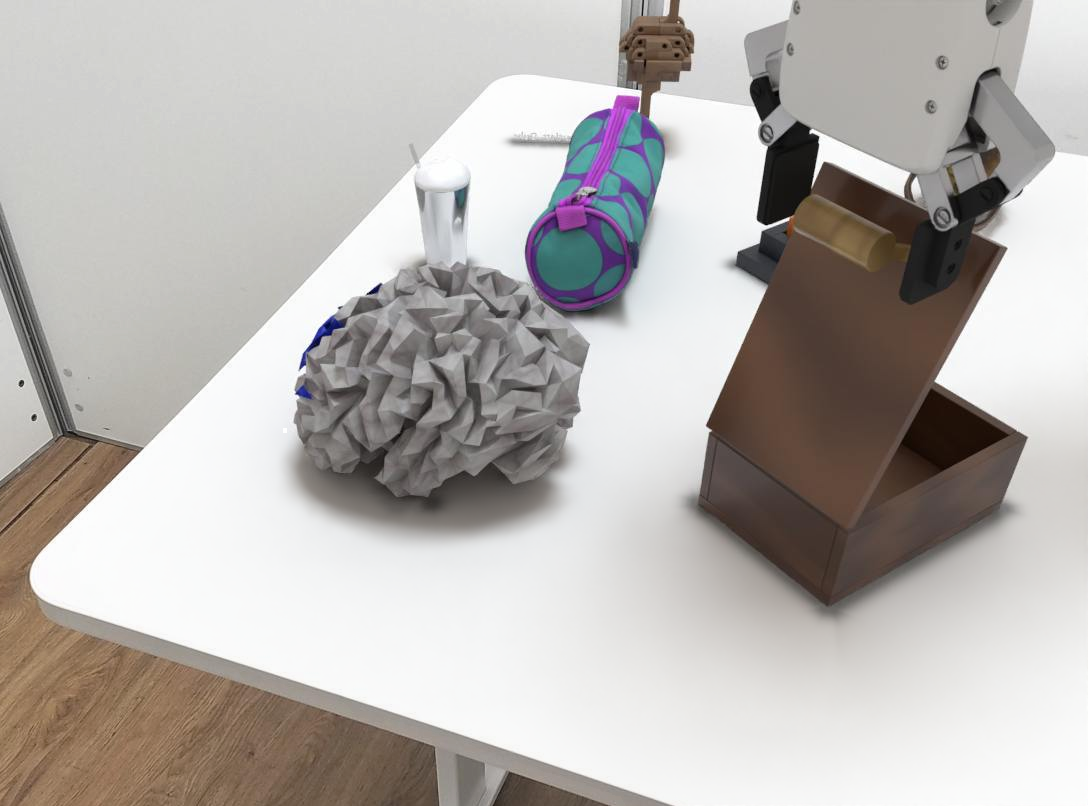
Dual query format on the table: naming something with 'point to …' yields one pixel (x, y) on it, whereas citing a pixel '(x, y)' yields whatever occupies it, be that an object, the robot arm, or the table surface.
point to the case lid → (843, 345)
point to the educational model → (441, 379)
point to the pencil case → (597, 209)
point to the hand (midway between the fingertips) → (849, 253)
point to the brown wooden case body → (871, 499)
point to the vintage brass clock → (989, 163)
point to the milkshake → (443, 208)
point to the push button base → (765, 252)
